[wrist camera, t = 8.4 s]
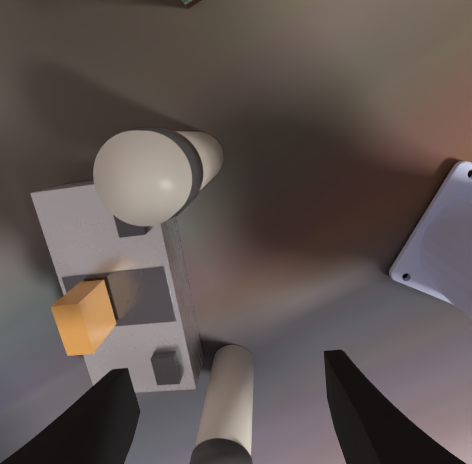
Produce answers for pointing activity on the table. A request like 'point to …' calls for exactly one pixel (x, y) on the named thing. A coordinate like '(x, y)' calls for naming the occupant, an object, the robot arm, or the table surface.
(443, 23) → the table surface
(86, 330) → the block
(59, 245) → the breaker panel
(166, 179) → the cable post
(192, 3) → the food container
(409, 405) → the table surface
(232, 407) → the cable post
